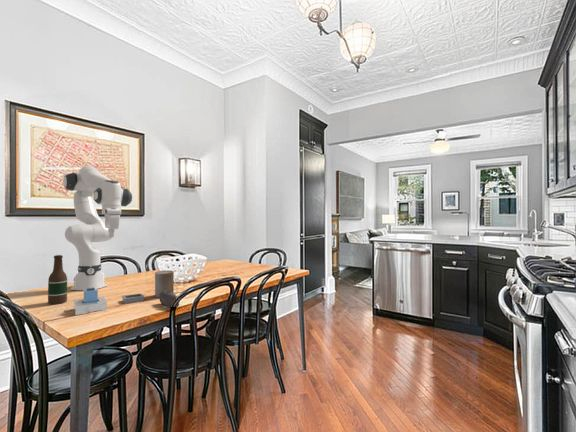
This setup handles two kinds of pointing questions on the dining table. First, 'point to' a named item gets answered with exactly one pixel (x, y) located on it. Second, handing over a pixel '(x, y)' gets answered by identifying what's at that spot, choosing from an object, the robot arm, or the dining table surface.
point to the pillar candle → (164, 282)
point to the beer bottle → (57, 283)
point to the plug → (90, 295)
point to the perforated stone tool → (167, 298)
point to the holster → (132, 298)
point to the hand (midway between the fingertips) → (111, 237)
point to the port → (89, 306)
